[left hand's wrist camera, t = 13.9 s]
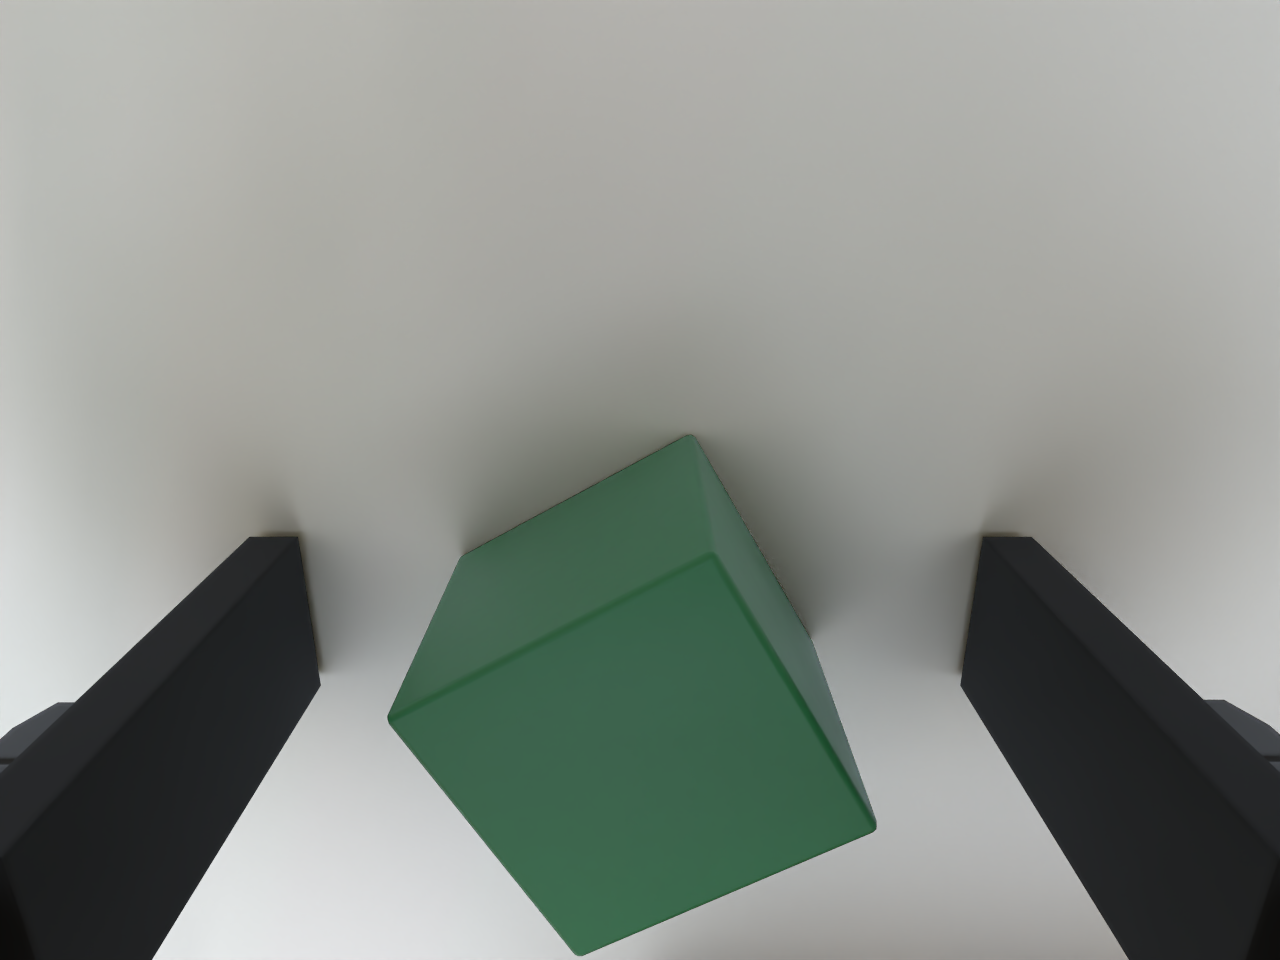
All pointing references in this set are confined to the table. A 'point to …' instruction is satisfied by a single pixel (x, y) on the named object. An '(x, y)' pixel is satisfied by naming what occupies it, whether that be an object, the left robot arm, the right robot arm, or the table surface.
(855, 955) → the table surface
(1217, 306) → the table surface
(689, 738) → the block
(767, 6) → the table surface
